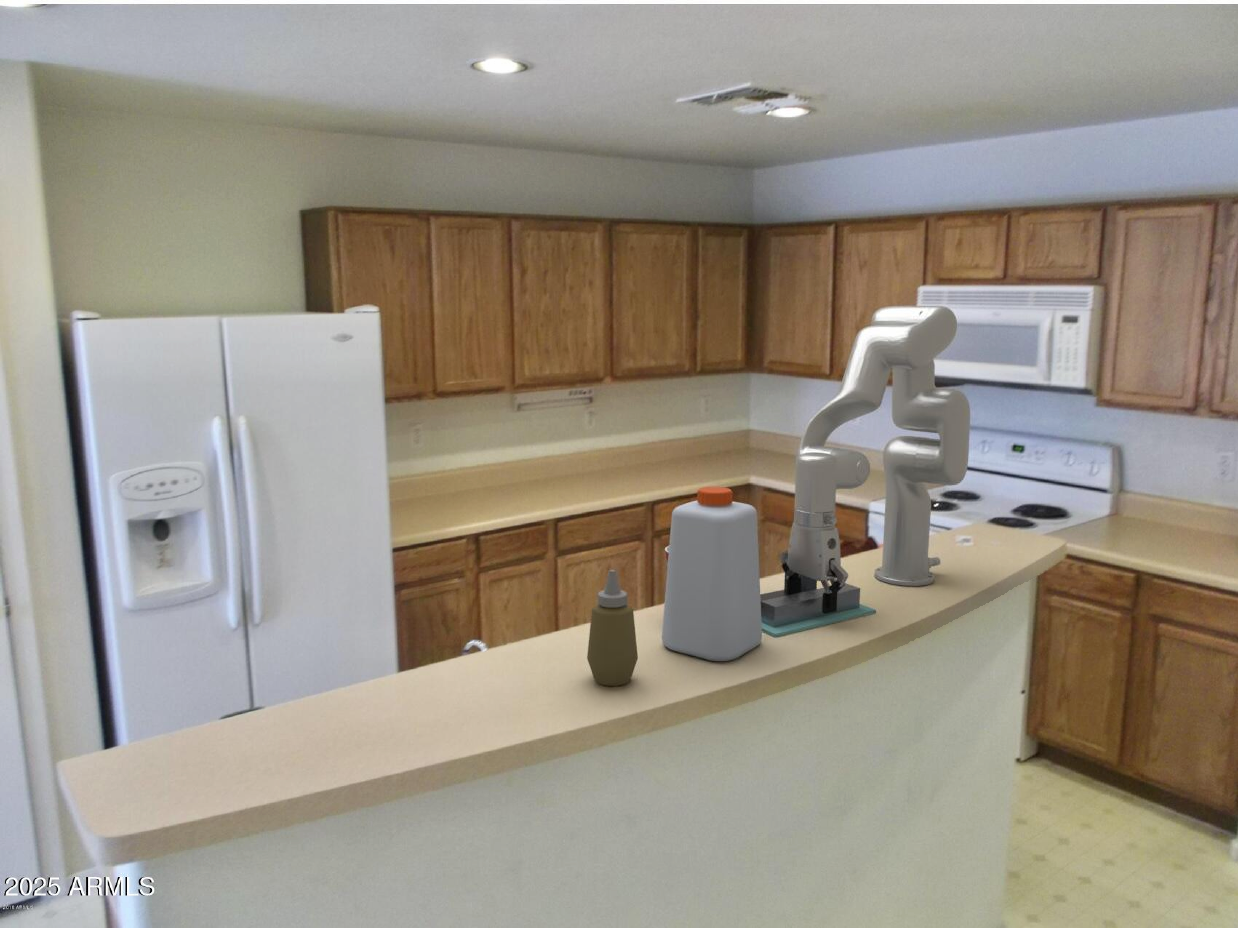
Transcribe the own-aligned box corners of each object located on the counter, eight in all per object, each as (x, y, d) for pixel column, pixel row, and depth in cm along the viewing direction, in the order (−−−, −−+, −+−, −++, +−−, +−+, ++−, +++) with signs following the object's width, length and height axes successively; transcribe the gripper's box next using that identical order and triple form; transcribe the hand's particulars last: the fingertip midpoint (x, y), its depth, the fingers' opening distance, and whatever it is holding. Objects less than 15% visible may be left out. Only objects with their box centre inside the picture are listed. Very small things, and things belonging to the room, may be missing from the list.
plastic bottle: (727, 668, 148) (731, 502, 144) (652, 647, 157) (653, 490, 153) (770, 641, 160) (775, 487, 156) (698, 624, 169) (700, 478, 165)
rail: (844, 602, 181) (845, 583, 180) (859, 607, 177) (860, 588, 177) (760, 621, 169) (760, 601, 168) (774, 627, 166) (774, 607, 165)
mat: (842, 600, 184) (842, 597, 184) (875, 612, 176) (875, 609, 176) (742, 622, 170) (743, 619, 170) (774, 637, 163) (775, 634, 163)
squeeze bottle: (579, 674, 146) (579, 567, 143) (625, 666, 149) (625, 561, 146) (598, 693, 138) (598, 580, 135) (646, 685, 142) (646, 574, 139)
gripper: (862, 524, 165) (858, 614, 167) (797, 507, 179) (794, 590, 182) (833, 530, 161) (829, 621, 164) (768, 512, 175) (766, 596, 178)
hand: (811, 605), depth 173 cm, fingers open, 9 cm apart
